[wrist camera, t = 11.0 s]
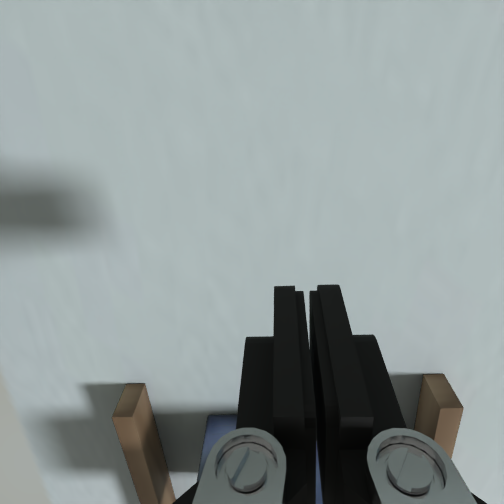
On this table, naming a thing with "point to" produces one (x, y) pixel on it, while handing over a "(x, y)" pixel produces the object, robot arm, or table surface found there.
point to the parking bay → (153, 461)
